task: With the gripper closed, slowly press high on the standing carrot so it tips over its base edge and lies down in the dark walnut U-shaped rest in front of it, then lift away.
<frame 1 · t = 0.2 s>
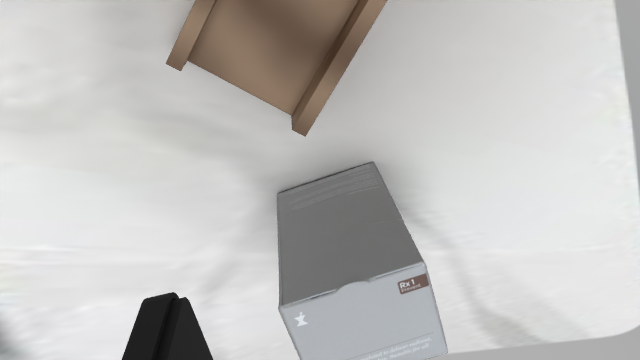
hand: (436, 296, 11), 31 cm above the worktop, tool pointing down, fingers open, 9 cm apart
skincare box: (337, 204, 45), on the worktop
walnut U-rest: (282, 8, 38), on the worktop
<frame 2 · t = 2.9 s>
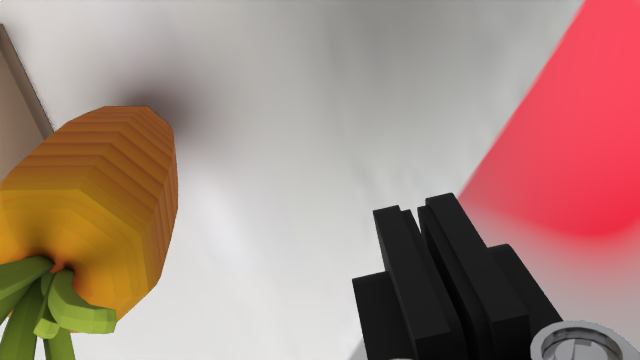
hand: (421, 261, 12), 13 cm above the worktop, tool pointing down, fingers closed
carrot: (149, 117, 24), on the worktop
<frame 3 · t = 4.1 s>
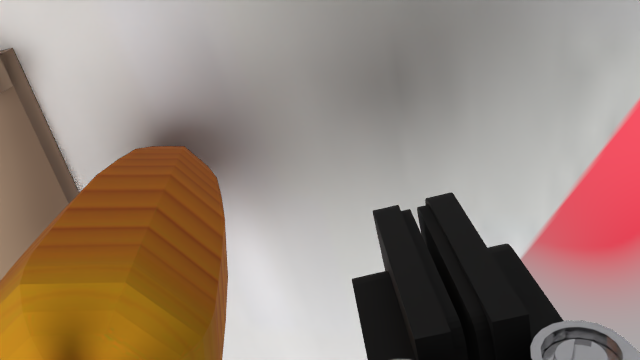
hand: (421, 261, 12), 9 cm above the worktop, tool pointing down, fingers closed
carrot: (181, 156, 21), on the worktop
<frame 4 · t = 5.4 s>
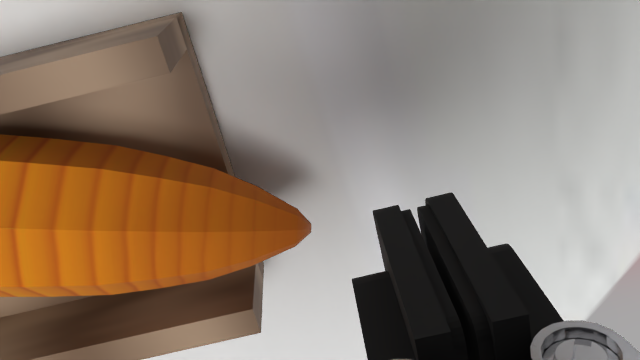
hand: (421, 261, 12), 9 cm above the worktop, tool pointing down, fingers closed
walnut U-rest: (67, 190, 20), on the worktop
carrot: (316, 228, 18), point 3 cm above the worktop, touching walnut U-rest
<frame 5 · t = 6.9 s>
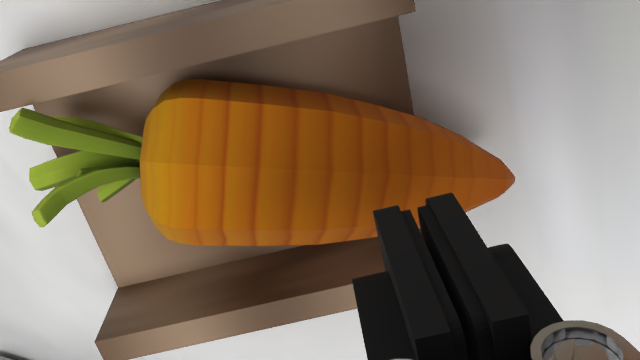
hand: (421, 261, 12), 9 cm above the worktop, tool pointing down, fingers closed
walnut U-rest: (244, 145, 20), on the worktop
carrot: (518, 179, 18), point 3 cm above the worktop, touching walnut U-rest
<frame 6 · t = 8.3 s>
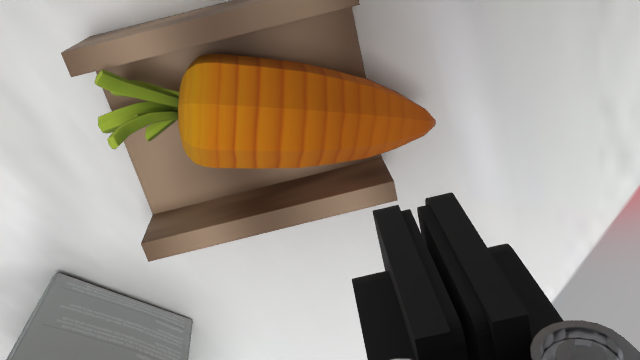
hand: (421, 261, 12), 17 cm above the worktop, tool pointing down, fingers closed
skincare box: (115, 329, 33), on the worktop
walnut U-rest: (245, 106, 28), on the worktop
carrot: (438, 123, 26), point 3 cm above the worktop, touching walnut U-rest
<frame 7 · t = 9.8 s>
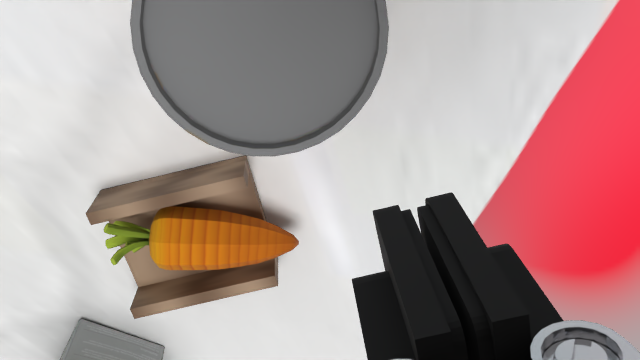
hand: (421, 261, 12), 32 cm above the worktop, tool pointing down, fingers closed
skincare box: (116, 351, 52), on the worktop
walnut U-rest: (193, 225, 47), on the worktop
carrot: (301, 242, 45), point 3 cm above the worktop, touching walnut U-rest
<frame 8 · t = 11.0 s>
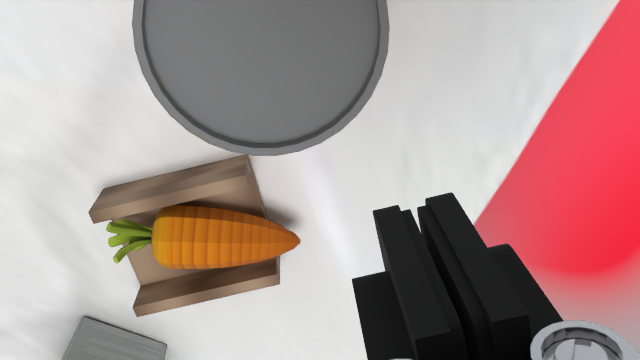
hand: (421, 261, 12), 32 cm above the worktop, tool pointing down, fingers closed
skincare box: (119, 349, 53), on the worktop
walnut U-rest: (195, 224, 47), on the worktop
carrot: (302, 241, 45), point 3 cm above the worktop, touching walnut U-rest
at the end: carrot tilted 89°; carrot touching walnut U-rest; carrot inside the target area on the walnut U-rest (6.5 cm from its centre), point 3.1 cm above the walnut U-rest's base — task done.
